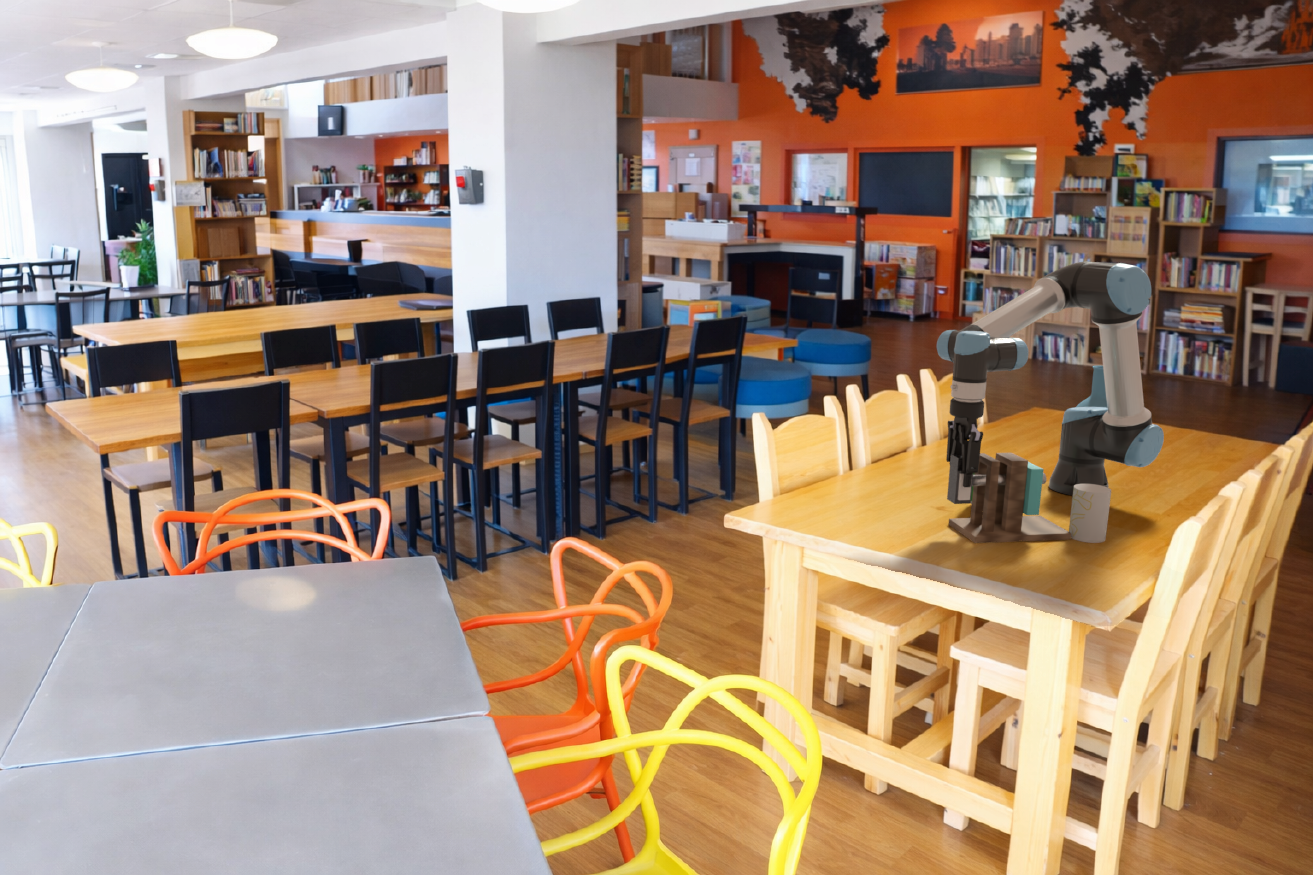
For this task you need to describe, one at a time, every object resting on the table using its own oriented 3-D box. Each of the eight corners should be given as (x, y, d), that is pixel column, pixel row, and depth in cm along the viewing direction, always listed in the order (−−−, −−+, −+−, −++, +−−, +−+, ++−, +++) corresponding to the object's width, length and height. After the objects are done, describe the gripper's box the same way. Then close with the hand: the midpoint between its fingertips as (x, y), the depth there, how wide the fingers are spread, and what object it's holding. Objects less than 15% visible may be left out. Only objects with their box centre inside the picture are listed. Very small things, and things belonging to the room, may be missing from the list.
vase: (1130, 447, 338) (1140, 371, 333) (1079, 446, 339) (1088, 370, 333) (1109, 436, 355) (1118, 363, 349) (1061, 435, 355) (1069, 362, 349)
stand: (1039, 521, 257) (1047, 448, 253) (1070, 539, 244) (1079, 462, 240) (948, 524, 253) (954, 450, 249) (974, 543, 240) (982, 465, 236)
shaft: (1037, 496, 250) (1041, 451, 248) (1045, 501, 246) (1050, 455, 244) (947, 499, 246) (950, 454, 244) (954, 503, 242) (958, 458, 240)
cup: (1062, 532, 249) (1067, 483, 247) (1094, 531, 250) (1100, 483, 247) (1078, 542, 242) (1084, 493, 239) (1112, 542, 242) (1118, 492, 240)
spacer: (1015, 501, 253) (1019, 457, 251) (1038, 514, 243) (1043, 469, 240) (1003, 501, 253) (1008, 457, 250) (1026, 515, 242) (1031, 469, 240)
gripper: (936, 392, 247) (928, 487, 252) (969, 406, 230) (960, 507, 236) (966, 392, 248) (957, 486, 253) (1000, 406, 232) (991, 506, 237)
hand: (959, 496), depth 244 cm, fingers closed on shaft, 4 cm apart
